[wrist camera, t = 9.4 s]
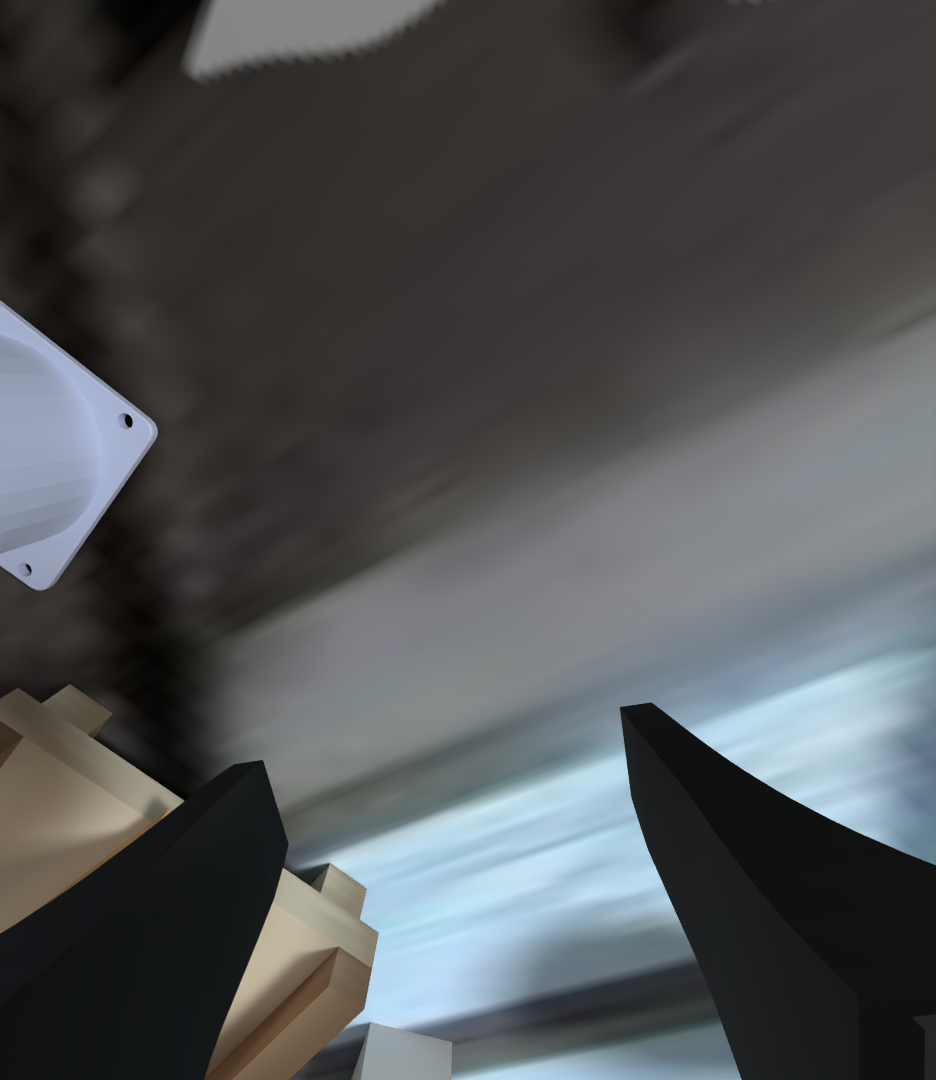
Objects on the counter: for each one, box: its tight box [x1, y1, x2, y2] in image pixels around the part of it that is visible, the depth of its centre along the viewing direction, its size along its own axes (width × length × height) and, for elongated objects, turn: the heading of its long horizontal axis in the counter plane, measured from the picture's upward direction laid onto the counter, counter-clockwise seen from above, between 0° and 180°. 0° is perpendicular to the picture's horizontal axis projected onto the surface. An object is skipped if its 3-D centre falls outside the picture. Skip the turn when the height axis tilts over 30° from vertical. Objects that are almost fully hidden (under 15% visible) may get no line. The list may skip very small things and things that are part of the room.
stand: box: [0, 684, 378, 1080], centre depth 22 cm, size 17×10×4 cm, turn 50°
